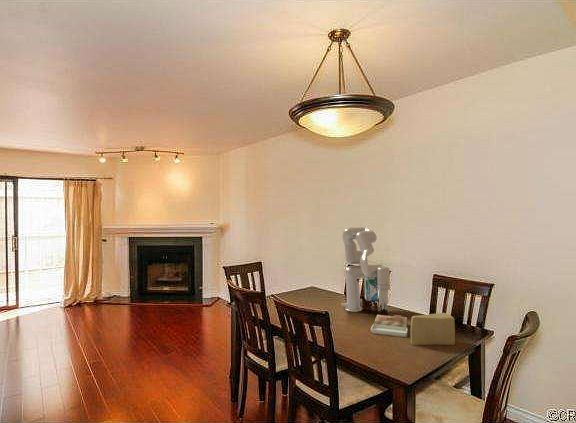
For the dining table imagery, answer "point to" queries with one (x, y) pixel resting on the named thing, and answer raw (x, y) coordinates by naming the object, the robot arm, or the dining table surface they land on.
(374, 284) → the milk carton
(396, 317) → the tile
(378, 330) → the tray
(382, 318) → the tile
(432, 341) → the tan rounded block
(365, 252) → the robot arm
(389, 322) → the white food package
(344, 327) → the dining table surface
